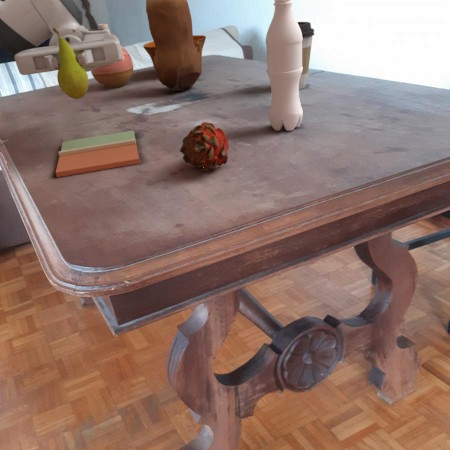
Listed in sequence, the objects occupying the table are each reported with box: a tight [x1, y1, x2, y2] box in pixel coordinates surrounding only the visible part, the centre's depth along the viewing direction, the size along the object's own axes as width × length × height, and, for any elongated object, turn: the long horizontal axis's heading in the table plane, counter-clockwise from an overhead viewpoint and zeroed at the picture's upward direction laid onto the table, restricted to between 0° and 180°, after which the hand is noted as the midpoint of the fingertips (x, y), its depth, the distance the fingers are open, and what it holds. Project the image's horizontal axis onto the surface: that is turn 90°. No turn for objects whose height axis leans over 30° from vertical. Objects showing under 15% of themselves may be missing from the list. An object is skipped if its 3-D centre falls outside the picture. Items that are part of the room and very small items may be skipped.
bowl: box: [142, 34, 207, 69], centre depth 160 cm, size 21×21×10 cm
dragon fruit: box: [179, 121, 230, 173], centre depth 85 cm, size 8×8×12 cm
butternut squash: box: [145, 0, 203, 92], centre depth 133 cm, size 14×13×25 cm
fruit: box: [53, 28, 90, 100], centre depth 88 cm, size 6×6×12 cm
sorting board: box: [55, 129, 140, 178], centre depth 99 cm, size 16×20×2 cm
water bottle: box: [265, 0, 304, 132], centre depth 94 cm, size 7×7×25 cm
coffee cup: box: [297, 21, 315, 90], centre depth 126 cm, size 11×11×15 cm
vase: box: [90, 23, 134, 89], centre depth 150 cm, size 14×14×18 cm
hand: (68, 62), depth 87 cm, fingers closed on fruit, 4 cm apart
